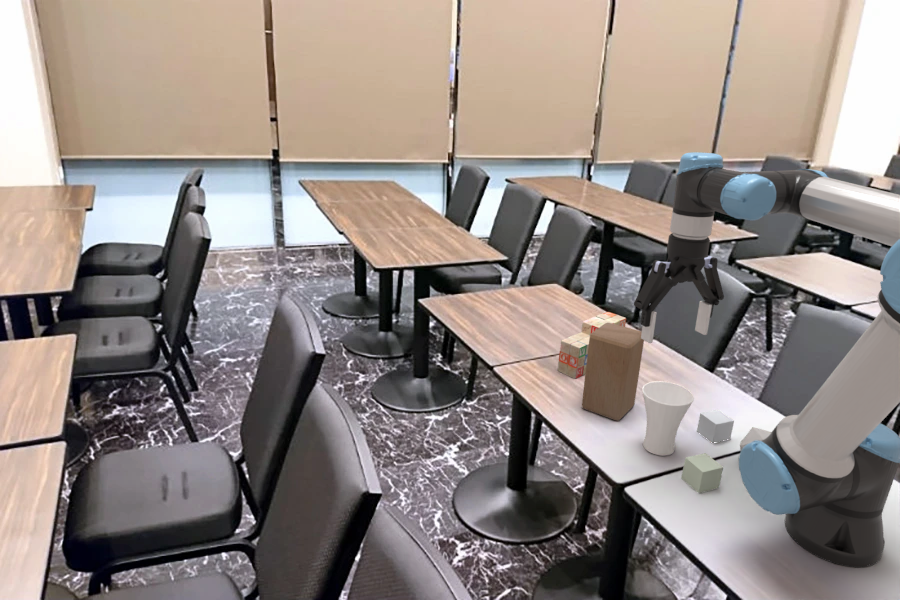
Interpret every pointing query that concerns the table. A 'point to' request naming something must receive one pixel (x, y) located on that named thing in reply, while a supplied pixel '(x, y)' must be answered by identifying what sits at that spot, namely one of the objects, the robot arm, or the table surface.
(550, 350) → the table surface
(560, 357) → the stack of blocks
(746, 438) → the grey block
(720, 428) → the light gray cube
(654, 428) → the cup
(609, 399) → the block
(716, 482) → the sage cube
